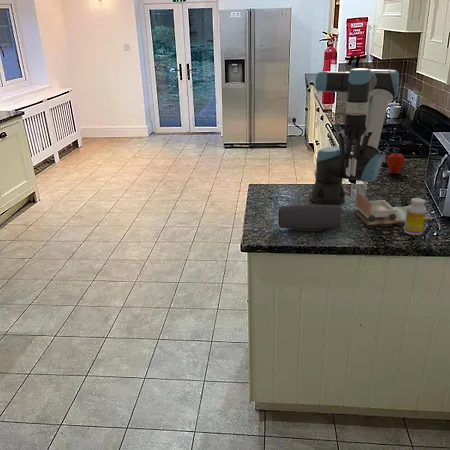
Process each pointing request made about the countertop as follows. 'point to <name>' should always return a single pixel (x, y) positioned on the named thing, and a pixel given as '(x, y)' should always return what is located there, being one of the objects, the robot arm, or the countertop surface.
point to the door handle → (385, 158)
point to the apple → (395, 162)
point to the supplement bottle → (415, 217)
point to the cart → (375, 208)
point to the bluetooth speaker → (309, 217)
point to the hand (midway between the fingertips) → (350, 175)
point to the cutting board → (386, 220)
